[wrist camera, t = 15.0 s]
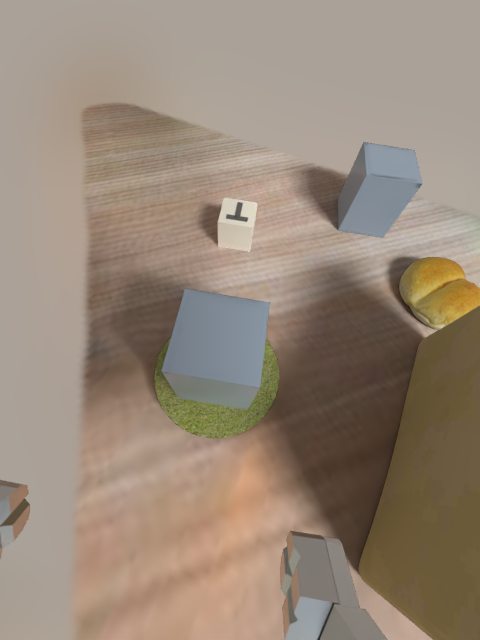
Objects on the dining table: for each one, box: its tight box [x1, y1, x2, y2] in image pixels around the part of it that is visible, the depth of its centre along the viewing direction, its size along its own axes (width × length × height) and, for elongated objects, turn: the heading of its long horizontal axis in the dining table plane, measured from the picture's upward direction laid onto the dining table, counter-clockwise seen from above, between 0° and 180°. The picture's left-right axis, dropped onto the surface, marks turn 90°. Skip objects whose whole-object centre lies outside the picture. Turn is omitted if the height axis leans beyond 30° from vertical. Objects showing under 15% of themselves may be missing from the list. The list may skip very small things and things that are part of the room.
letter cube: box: [218, 198, 258, 252], centre depth 34 cm, size 4×4×4 cm
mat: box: [154, 337, 279, 439], centre depth 26 cm, size 11×11×2 cm
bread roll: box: [399, 257, 480, 330], centre depth 32 cm, size 8×9×4 cm
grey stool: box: [162, 289, 270, 410], centre depth 22 cm, size 6×6×8 cm
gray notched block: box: [338, 142, 422, 238], centre depth 35 cm, size 6×6×8 cm
